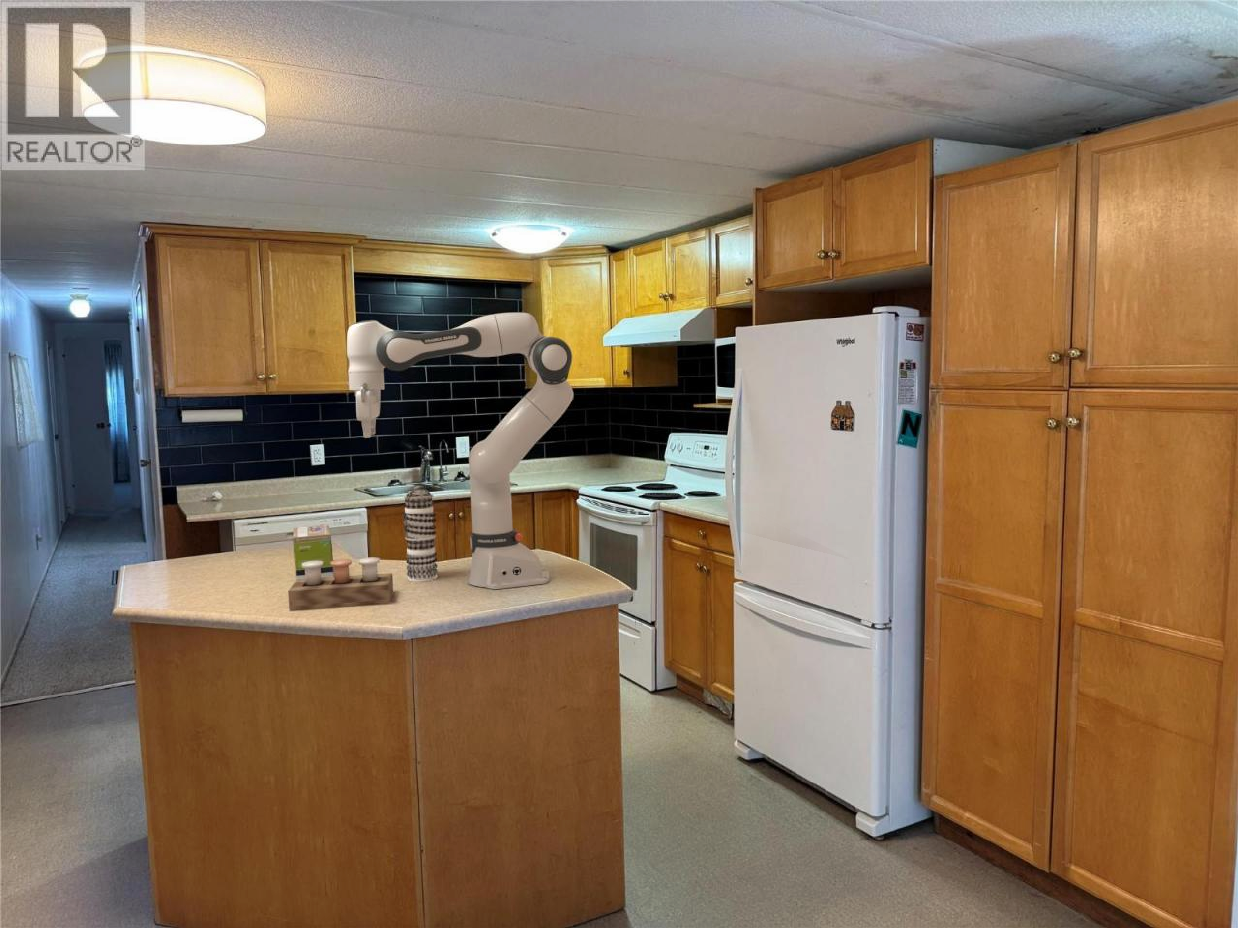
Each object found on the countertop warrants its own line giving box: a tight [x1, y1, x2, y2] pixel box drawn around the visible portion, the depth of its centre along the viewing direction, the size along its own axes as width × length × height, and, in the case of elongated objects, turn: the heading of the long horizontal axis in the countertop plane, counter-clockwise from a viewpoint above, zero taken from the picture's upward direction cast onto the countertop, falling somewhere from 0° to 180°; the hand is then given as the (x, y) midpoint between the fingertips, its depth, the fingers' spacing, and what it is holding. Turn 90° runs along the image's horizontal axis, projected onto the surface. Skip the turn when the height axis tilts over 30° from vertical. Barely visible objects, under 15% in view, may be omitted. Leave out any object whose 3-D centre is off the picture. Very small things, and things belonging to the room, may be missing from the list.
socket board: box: [287, 572, 394, 611], centre depth 215 cm, size 24×12×5 cm, turn 100°
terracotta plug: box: [330, 558, 353, 583], centre depth 215 cm, size 5×5×5 cm
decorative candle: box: [402, 489, 439, 583], centre depth 236 cm, size 9×9×25 cm
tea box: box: [292, 524, 334, 582], centre depth 236 cm, size 15×10×15 cm, turn 21°
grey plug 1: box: [302, 561, 323, 585], centre depth 213 cm, size 5×5×5 cm
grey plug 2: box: [358, 556, 381, 581], centre depth 216 cm, size 5×5×5 cm
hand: (369, 436), depth 220 cm, fingers open, 8 cm apart
